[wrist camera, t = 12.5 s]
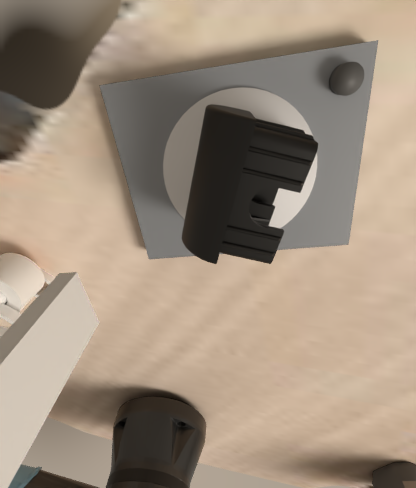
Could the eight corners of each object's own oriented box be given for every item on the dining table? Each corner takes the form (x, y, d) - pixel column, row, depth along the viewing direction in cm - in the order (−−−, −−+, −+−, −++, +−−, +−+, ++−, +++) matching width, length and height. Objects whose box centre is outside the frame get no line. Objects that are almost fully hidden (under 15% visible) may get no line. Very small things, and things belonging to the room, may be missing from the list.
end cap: (210, 100, 20) (201, 106, 15) (300, 122, 21) (327, 137, 15) (187, 217, 26) (174, 256, 20) (260, 234, 26) (268, 277, 20)
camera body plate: (152, 251, 30) (146, 264, 28) (107, 85, 22) (93, 85, 20) (342, 237, 27) (352, 250, 25) (368, 43, 19) (385, 38, 17)
